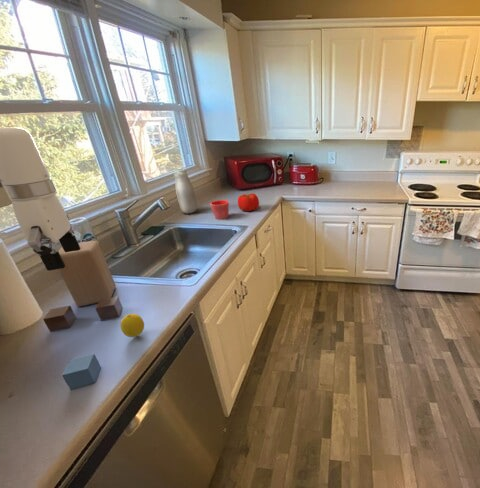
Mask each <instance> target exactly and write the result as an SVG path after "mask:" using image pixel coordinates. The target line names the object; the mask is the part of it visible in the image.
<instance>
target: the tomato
mask: <svg viewBox="0 0 480 488" xmlns="http://www.w3.org/2000/svg"><path fill="white" fill-rule="evenodd" d="M237 206H238V209H240V211H243V212H251V211H256V210H257V209H258V208H259V207H260V200H259V197H258V196H257V194H256V193H253V192H251V193H249V194H246V193H243V194H241V195H239V196H238V198H237Z"/></svg>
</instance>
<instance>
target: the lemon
mask: <svg viewBox="0 0 480 488" xmlns="http://www.w3.org/2000/svg"><path fill="white" fill-rule="evenodd" d="M120 330H121V332H122V333H123V335H125V336H126V337H129V338H134V337H138V336H139V335H141V334H142V333H143V331H144V330H145V322H144V320H143V318H142V317H141V316H140V315H139V314H138V313H128V314H126V315H125V316H124V317H123V318H122V319H121V321H120Z"/></svg>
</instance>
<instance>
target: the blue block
mask: <svg viewBox="0 0 480 488" xmlns="http://www.w3.org/2000/svg"><path fill="white" fill-rule="evenodd" d="M101 369H102V366H101V364H100V362H99V360H98V358H97V356H96V355H95V353H90V354H87V355H83V356H79V357H75V358H71V359H69V361H68V362H67V365H66V366H65V369H64V371H63V372H62V375H61V376H62V378H63V380H64V381H65V383H66V386H68V388H69V390H74V389H78V388H81V387H85V386H88V385H92V384H95V383H96V382H97V380H98V378H99V374H100V372H101Z"/></svg>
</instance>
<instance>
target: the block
mask: <svg viewBox="0 0 480 488" xmlns="http://www.w3.org/2000/svg"><path fill="white" fill-rule="evenodd" d="M78 244H79V246H80V250H78V251H71V252H65V251H64V250H63V247H62V246H61V247H60V249H59V250H58V251H57V252H59V254H60V256H61V258H62V260H63V262H64V264H65V267H64V268H62V269H58V270H59V273H60V275H61V277H62V279H63V281H64V283H65V286H66V287H67V289H68V291H69V293H70V295H71V297H72V300H73V301H74V304H75V306H76V307H84V306H85V307H86V306H89V305H93V304H98V303H99V301H100V300H101V299H106V298H111V297H113V294H114V292H115V289H116V283H115V280H114V278H113V276H112V273H111V270H110V268H109V266H108V263H107V259H106V257H105V255H104V252H103V250H102V248H101V245H100V243H99V241H98V240H89V241H82V242H78Z"/></svg>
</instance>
